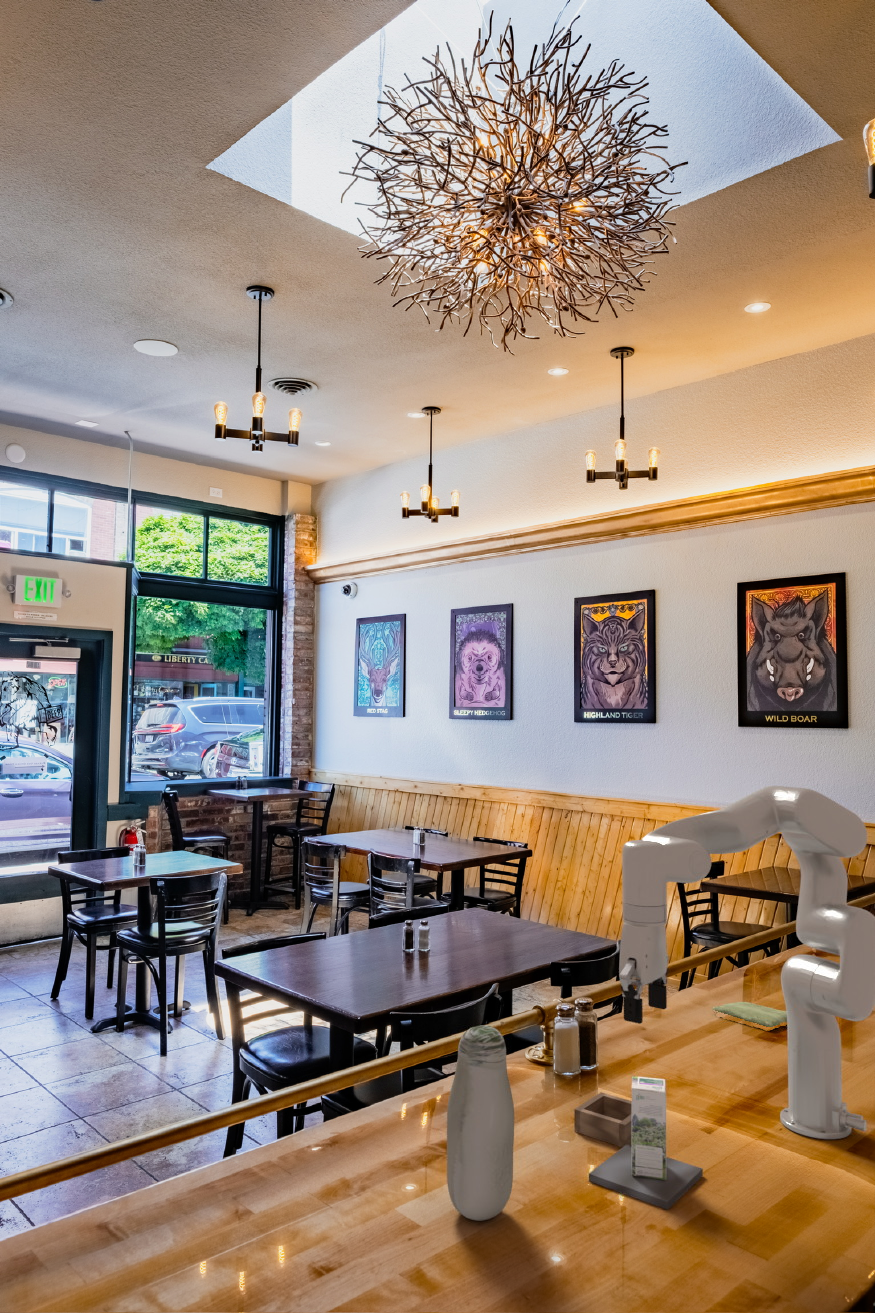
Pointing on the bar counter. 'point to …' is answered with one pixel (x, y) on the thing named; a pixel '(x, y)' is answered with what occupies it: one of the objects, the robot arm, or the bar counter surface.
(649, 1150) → the syrup box
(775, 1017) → the washcloth
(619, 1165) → the serving board
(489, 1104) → the white bottle
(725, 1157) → the bar counter surface
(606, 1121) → the walnut holder
